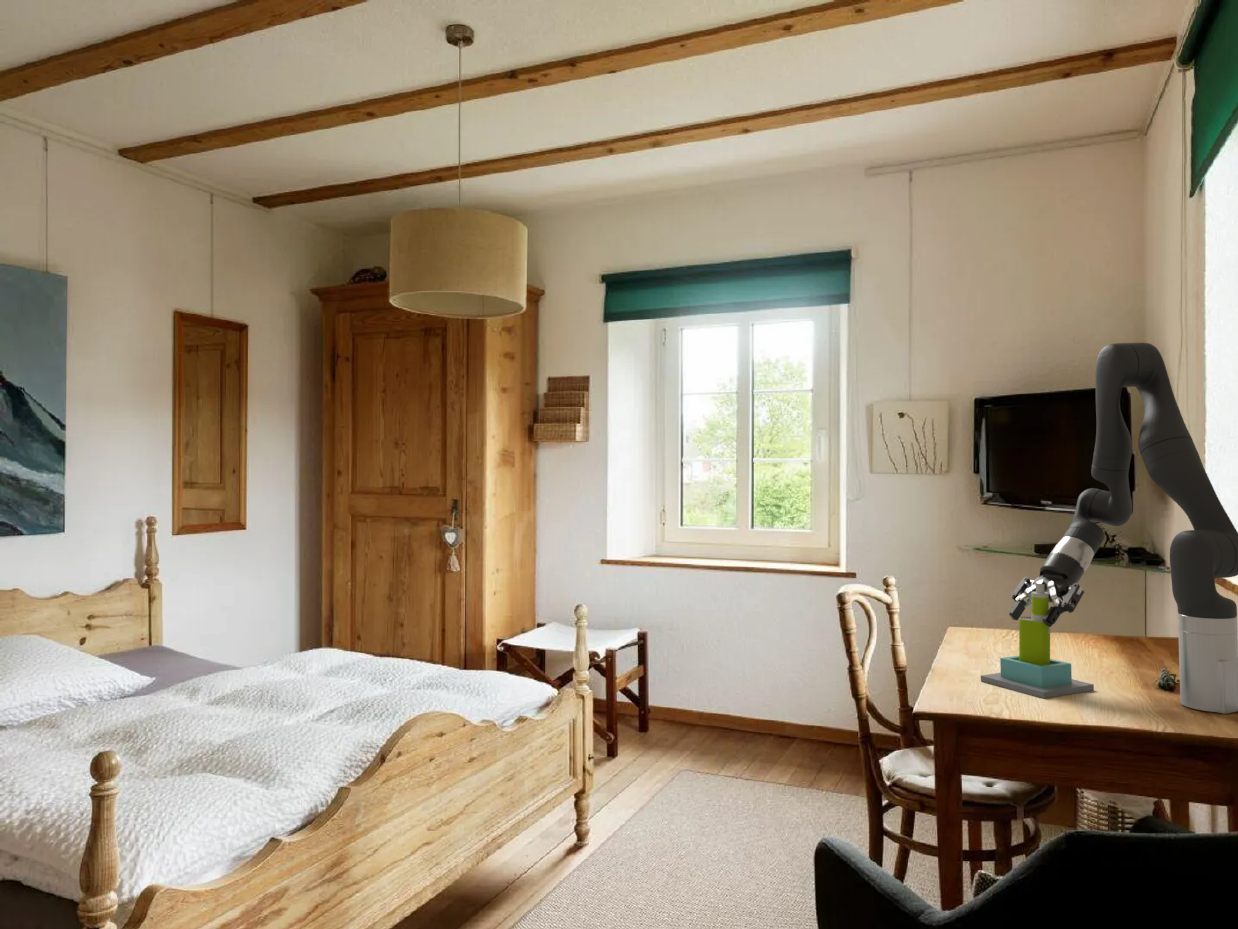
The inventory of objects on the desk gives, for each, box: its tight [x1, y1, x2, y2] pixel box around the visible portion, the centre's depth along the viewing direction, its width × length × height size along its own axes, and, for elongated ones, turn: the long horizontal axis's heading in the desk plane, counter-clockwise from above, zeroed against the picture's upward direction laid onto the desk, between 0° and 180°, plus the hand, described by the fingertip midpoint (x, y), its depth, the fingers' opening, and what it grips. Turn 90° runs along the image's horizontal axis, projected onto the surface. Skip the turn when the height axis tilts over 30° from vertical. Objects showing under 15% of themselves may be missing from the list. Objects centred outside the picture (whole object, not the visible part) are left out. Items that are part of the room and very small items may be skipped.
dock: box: [980, 655, 1095, 699], centre depth 179 cm, size 16×14×5 cm
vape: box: [1018, 584, 1052, 666], centre depth 179 cm, size 4×6×20 cm, turn 52°
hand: (1029, 620), depth 178 cm, fingers open, 8 cm apart
